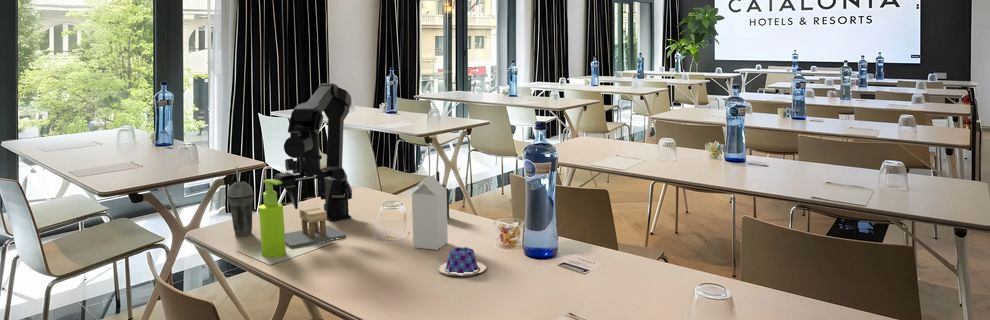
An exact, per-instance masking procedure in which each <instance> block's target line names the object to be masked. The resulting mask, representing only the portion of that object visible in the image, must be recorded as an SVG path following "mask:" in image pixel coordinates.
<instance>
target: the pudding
mask: <svg viewBox="0 0 990 320" xmlns="http://www.w3.org/2000/svg"><path fill="white" fill-rule="evenodd" d="M477 261H478V260H477V258H476V254H475V251H474V249H472V248H469V247H467V246H465V247H464V246H463V247H462V246H461V247H460V246H458V247H454V248H452V249H451V250H450V251H449V254H448V257H447V261H445V262H443V263H441V264H440V265H438V267H437V271H438V272H439V273H441V272H440V270H439V268H440V266H441V265H443V264H444V263H447V265H446V269H447V270H449V272H457V273H464V272H473V271H474V270H477V269H479V268H478V265H477ZM479 262H480V263H482V262H481V261H479ZM483 264H484V265H485V266H486V268H487V265H486V264H485V263H483ZM446 269H445V270H446ZM487 269H488V268H487ZM441 274H442V275H446V274H443V273H441ZM446 276H447V275H446Z"/></svg>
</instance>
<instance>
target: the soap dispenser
mask: <svg viewBox="0 0 990 320" xmlns="http://www.w3.org/2000/svg"><path fill="white" fill-rule="evenodd" d="M262 183H264V184H265V189H266V191H265V190H264V192H263V193H262V195H263V197H262V198H263V204H261V205H259V206H258V211H259V212H258V214H259V226H260V227H259V228H260V240H261V241H260V242H261V254H262V257H264V258H270V259H271V258H273V259H274V258H280V257H283V256H285V255H286V254H287V253H286V252H287V249H286V245H285V233H286V232H285V222H284V221H285V218H284V207H283V203H279V202H278V192H277V191H275V190H274V185H275V186H278V185H279V184H282V182H281V181H279V180H275V179H274V178H270V179H269V178H268V179H264V180H262Z"/></svg>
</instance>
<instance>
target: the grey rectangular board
mask: <svg viewBox="0 0 990 320" xmlns="http://www.w3.org/2000/svg"><path fill="white" fill-rule="evenodd" d="M318 229H319V231H317V232H315V238H310V236H309V228H308V233H307V234H303V233H302V229H301V230H297V231H290V232H284V233H285V246H286V247H288V248H289V249H294V248H295V249H296V248H301V247H305V246H310V245H315V244H314V243H316V244H320V243H319V242H321V243H324V242H323V241H326V242H328V241H327V240H331V239H336V238H341V239H345V237H346V238H347V235H346V234H345V233H344V232H341V230H340V231H339V230H338V229H336V228H334V227H332V226H331V225H326V236H321V235H320V226H318ZM336 240H337V239H336ZM331 241H332V240H331Z"/></svg>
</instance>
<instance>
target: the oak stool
mask: <svg viewBox="0 0 990 320" xmlns="http://www.w3.org/2000/svg"><path fill="white" fill-rule="evenodd" d="M298 209H299V208H298ZM299 219H301V230H302V233H303V234H307V233H308V229H309V236H310V238H315V232H317V231H319V229H318V227H320V235H321V236H326V226H327V225H326V223H327V222H326V221H327V220H328V219H327V214H326V211H324V209H323V208H321V207H318V206H311V207H310V206H309V207H306V208H305V207H304V208H300V209H299Z"/></svg>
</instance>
